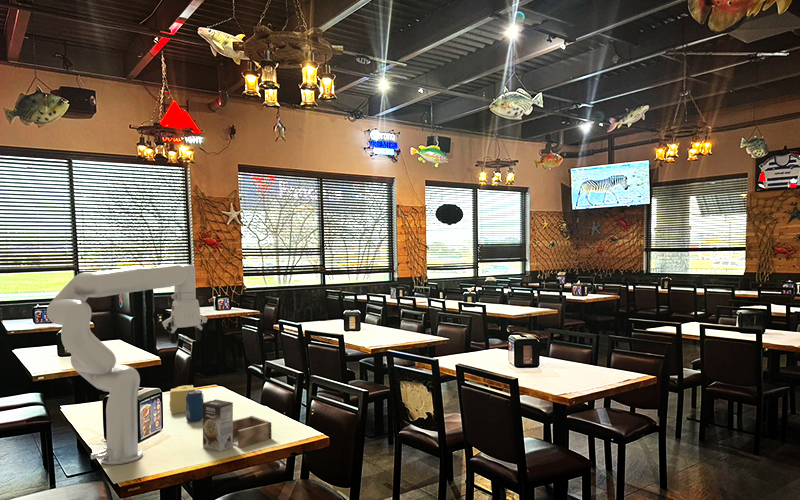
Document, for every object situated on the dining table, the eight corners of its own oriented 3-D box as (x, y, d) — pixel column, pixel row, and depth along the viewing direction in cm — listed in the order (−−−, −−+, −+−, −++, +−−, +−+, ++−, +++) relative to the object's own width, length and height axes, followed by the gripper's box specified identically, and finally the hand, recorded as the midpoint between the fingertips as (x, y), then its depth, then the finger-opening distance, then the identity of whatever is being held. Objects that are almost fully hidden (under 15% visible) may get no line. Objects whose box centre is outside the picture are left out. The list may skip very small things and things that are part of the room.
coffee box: (202, 448, 195) (201, 402, 196) (216, 442, 201) (215, 398, 201) (219, 452, 191) (219, 406, 191) (233, 446, 196) (233, 401, 197)
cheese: (169, 408, 248) (169, 386, 248) (194, 405, 253) (194, 384, 253) (170, 414, 239) (170, 391, 239) (196, 411, 243) (196, 388, 244)
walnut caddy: (239, 447, 195) (239, 431, 195) (221, 439, 204) (220, 423, 204) (271, 438, 204) (271, 422, 204) (252, 431, 214) (252, 415, 214)
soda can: (206, 418, 232) (206, 390, 232) (199, 423, 225) (198, 394, 226) (191, 418, 233) (190, 389, 233) (183, 422, 226) (182, 393, 226)
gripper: (166, 298, 200) (167, 345, 200) (211, 295, 212) (211, 339, 212) (158, 298, 205) (158, 343, 205) (202, 295, 218) (202, 338, 217)
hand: (185, 341), depth 209 cm, fingers open, 9 cm apart
